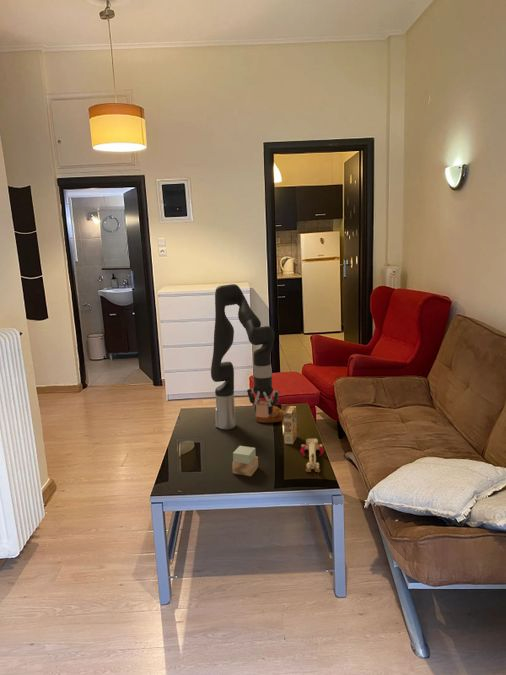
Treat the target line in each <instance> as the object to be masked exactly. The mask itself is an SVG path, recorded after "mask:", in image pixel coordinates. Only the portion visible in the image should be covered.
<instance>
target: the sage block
mask: <svg viewBox="0 0 506 675" xmlns="http://www.w3.org/2000/svg"><path fill="white" fill-rule="evenodd" d="M255 457H256V447H253V446H252V447H251V446H244V445H238V447H237V448H236V449H235V450H234V451H233V452H232V460H233V461H232V462H236V463H243V464H250V463H251V462H252V461H253V459H254V458H255Z"/></svg>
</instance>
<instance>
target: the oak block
mask: <svg viewBox="0 0 506 675" xmlns="http://www.w3.org/2000/svg"><path fill="white" fill-rule="evenodd" d="M231 463H232V466H231V467H232V474H234V475H241V476H246V477H252V476H253V475H254V473H255V472H256V471H257V469H258V468H259V456H256V457H255V458H254V459H253V461H252V462H251V463H250V464H243V463H236V462H233V461H232V462H231Z"/></svg>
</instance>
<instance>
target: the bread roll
mask: <svg viewBox="0 0 506 675" xmlns="http://www.w3.org/2000/svg"><path fill="white" fill-rule="evenodd" d="M284 411H285V410H282V409H280V408H279V407H278V406H277V405H275V406H273V413H272V414H271V415H270V416H269V417H268V418H265V417H257V416H256V414H255V416H254V418H255V420H256V421H257V422H258V423H261V424H263V423H267V424H268V423H271V424H272V423H278V422H283V421H284V414H283V413H284Z"/></svg>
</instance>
